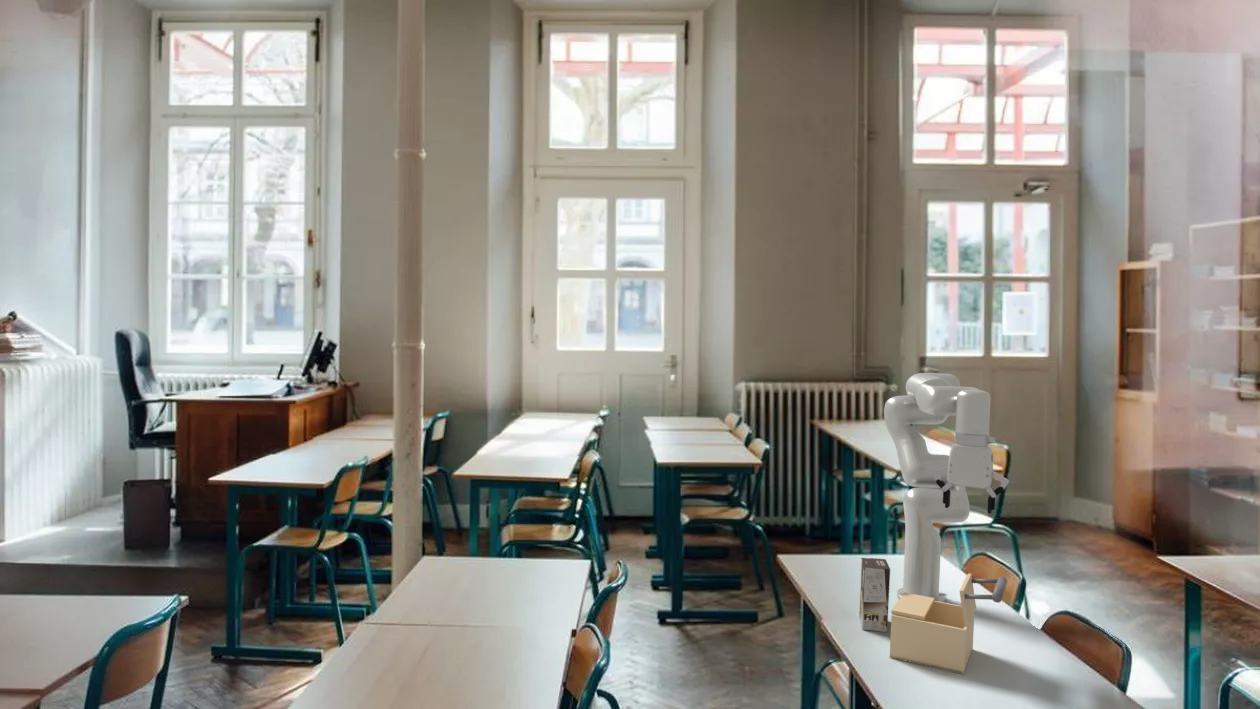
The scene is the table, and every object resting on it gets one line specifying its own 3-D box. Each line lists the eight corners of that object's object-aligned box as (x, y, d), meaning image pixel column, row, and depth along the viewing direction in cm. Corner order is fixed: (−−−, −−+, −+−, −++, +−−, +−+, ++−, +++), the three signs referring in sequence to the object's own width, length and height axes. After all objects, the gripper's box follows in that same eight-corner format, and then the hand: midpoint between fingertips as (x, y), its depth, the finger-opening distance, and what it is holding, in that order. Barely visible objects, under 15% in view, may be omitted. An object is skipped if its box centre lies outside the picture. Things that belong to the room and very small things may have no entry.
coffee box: (888, 632, 199) (890, 569, 198) (861, 629, 200) (864, 567, 199) (884, 619, 208) (886, 558, 207) (858, 616, 209) (861, 556, 208)
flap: (972, 607, 189) (1011, 608, 185) (964, 626, 176) (1005, 628, 172) (967, 573, 189) (1006, 574, 185) (959, 590, 177) (1000, 591, 172)
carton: (902, 634, 198) (904, 591, 197) (972, 649, 190) (974, 604, 189) (888, 657, 184) (890, 611, 183) (963, 674, 176) (966, 626, 175)
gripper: (1011, 442, 193) (1008, 511, 193) (936, 435, 201) (933, 501, 202) (1009, 446, 186) (1005, 518, 187) (931, 438, 195) (928, 507, 196)
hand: (968, 509), depth 195 cm, fingers open, 9 cm apart
